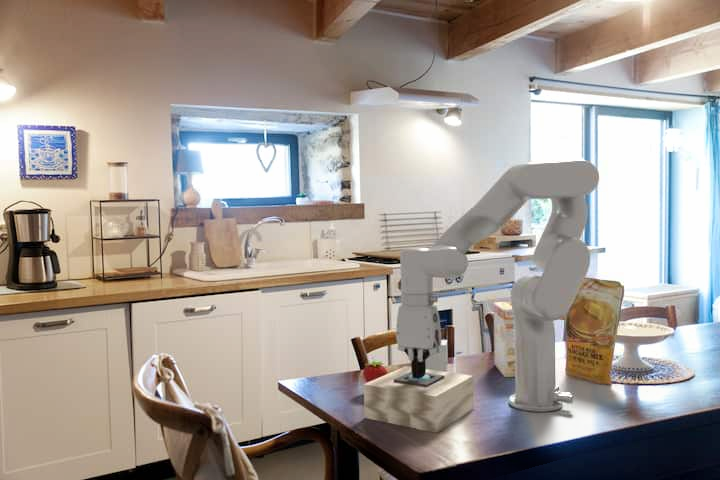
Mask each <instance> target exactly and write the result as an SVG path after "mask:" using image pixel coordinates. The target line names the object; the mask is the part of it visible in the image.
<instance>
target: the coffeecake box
mask: <svg viewBox="0 0 720 480" xmlns="http://www.w3.org/2000/svg"><path fill="white" fill-rule="evenodd" d="M493 342H494V343H493V348H494V349H493V350H494V351H493V353H494V355H493V356H494V359H493V360H494V366H496V368H497V369H498V371H499V372H500V373H501V374H502V376H503V377H504V378H515V334H514V318H513V311H512V305H511V301H494V302H493Z"/></svg>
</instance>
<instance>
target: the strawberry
mask: <svg viewBox="0 0 720 480" xmlns="http://www.w3.org/2000/svg"><path fill="white" fill-rule="evenodd" d="M371 357H372V359H373V361H371V362H369V363H365V364H364V366H365V367H364V369H363V376H364V377H363V378H364V380H365V383H368V382H370V381H373V380H375V379H377V378H380V377H382V376H384V375H386V374H388V371H387V369H386V367H384V366H382V365H383V362H382V361H377V362H376V361H375V358H373V356H371Z"/></svg>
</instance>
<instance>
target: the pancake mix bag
mask: <svg viewBox="0 0 720 480" xmlns="http://www.w3.org/2000/svg"><path fill="white" fill-rule="evenodd" d="M624 296H625V285H622V283H621V281H616V280H608V279H601V278H600V279H597V278H594V277H587V276H585V278H584V280H583V283H582V285H581V287H580V289H579V291H578V293H577V295H576V298H575V300H574V302H573V304H572V306H571V307H570V309H569V311H568V312H567V313H566V314H565V315H564V328H565V347H566V356H565V357H566V358H565V370H564V372H565V373H567V375H568V376H571V377H573V378H576V379H580V380H582V381H587V382H591V383H593V384H597V385H610V386H612V385H613V384H612V377H611V370H612V365H613V360H614V356H615V355H614V353H615V348H616V347H615V346H616V341H617V336H618V327H619V324H620V318H621V312H622V305H623V301H624Z"/></svg>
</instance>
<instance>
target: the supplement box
mask: <svg viewBox="0 0 720 480" xmlns="http://www.w3.org/2000/svg"><path fill="white" fill-rule="evenodd" d="M438 348H439V353H438V354H436V355H430V356H429V357H428V358H427V360H426V369H428V370H435V371H442V372H449V369H448V367H449V365H448V364H449V363H448V356H449V355H448V339H441V345H440V346H438ZM430 350H431V349H430Z"/></svg>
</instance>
